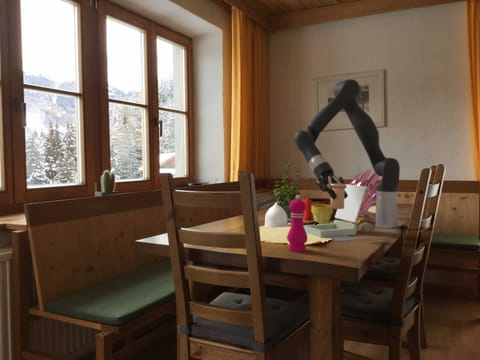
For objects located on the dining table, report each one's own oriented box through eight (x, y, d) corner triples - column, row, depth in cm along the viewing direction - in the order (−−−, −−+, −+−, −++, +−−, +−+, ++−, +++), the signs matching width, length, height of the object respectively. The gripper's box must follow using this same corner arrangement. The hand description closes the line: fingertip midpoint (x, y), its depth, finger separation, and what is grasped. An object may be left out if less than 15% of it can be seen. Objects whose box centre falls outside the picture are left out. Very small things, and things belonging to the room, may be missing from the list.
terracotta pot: (339, 206, 178) (339, 183, 177) (348, 208, 172) (348, 184, 172) (326, 207, 176) (327, 183, 175) (335, 209, 170) (335, 184, 169)
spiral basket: (409, 181, 242) (368, 154, 247) (406, 197, 218) (361, 167, 222) (379, 217, 255) (341, 190, 260) (374, 235, 230) (332, 206, 235)
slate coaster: (344, 237, 177) (344, 235, 177) (358, 241, 169) (358, 239, 169) (326, 239, 173) (326, 236, 173) (339, 243, 165) (339, 240, 165)
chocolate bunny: (376, 233, 187) (377, 211, 186) (358, 232, 188) (358, 210, 187) (375, 231, 192) (376, 209, 191) (357, 230, 193) (358, 209, 193)
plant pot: (332, 227, 200) (333, 207, 200) (310, 227, 202) (311, 206, 202) (332, 224, 211) (332, 204, 210) (311, 223, 213) (311, 204, 212)
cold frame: (345, 229, 195) (346, 184, 194) (365, 235, 182) (366, 186, 181) (302, 233, 186) (302, 185, 184) (320, 239, 173) (321, 187, 172)
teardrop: (292, 226, 204) (292, 201, 203) (274, 228, 198) (274, 203, 197) (277, 223, 213) (277, 199, 212) (260, 225, 207) (260, 200, 206)
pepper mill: (285, 247, 157) (286, 194, 155) (304, 247, 157) (305, 194, 156) (289, 252, 149) (290, 196, 148) (309, 252, 150) (310, 196, 149)
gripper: (312, 161, 175) (332, 192, 166) (337, 161, 183) (358, 191, 174) (303, 173, 180) (323, 204, 171) (328, 173, 188) (348, 202, 178)
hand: (340, 197), depth 172 cm, fingers closed on terracotta pot, 5 cm apart
